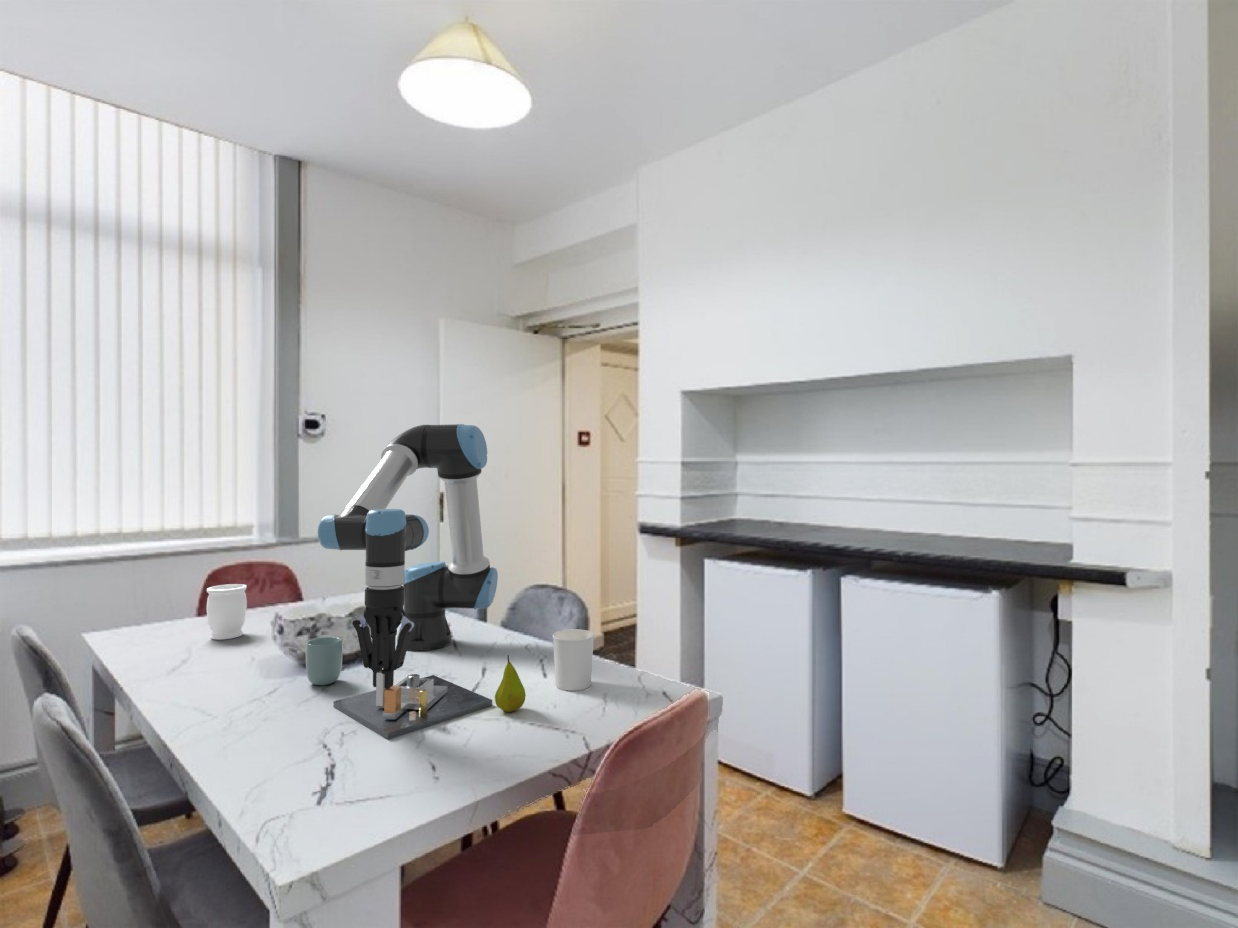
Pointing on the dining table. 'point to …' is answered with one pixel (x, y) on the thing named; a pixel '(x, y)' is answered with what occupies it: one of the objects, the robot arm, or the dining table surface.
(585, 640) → the white tumbler
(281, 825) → the dining table surface
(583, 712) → the dining table surface
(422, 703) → the dowel
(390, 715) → the grey metal fixture
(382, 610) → the robot arm
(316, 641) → the cup
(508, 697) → the fruit
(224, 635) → the jar
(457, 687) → the base
